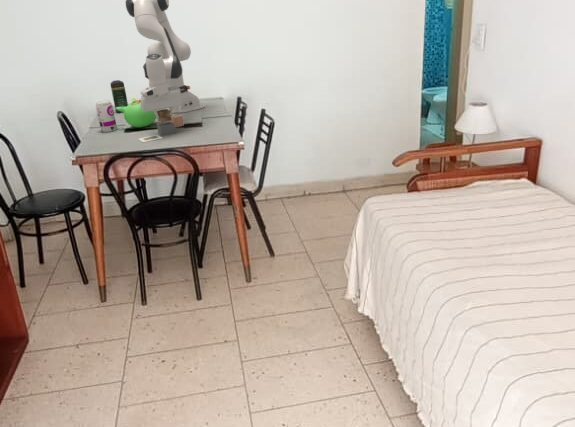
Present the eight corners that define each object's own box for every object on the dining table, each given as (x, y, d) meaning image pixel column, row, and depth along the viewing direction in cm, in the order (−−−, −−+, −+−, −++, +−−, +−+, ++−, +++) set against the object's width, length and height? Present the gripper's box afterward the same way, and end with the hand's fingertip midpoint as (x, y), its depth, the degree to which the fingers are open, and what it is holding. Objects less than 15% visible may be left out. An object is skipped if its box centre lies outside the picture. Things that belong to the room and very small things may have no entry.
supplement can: (120, 128, 279) (114, 100, 273) (111, 132, 272) (104, 104, 266) (107, 128, 282) (101, 100, 275) (98, 132, 275) (91, 104, 268)
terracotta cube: (180, 124, 278) (179, 114, 276) (184, 125, 274) (182, 116, 272) (171, 125, 276) (170, 116, 274) (175, 127, 272) (173, 118, 270)
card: (157, 135, 259) (157, 134, 259) (162, 138, 253) (162, 137, 253) (137, 139, 255) (137, 138, 255) (142, 142, 249) (142, 141, 248)
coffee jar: (129, 111, 316) (123, 80, 309) (116, 113, 314) (109, 82, 307) (128, 109, 325) (122, 78, 317) (115, 110, 323) (109, 80, 315)
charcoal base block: (171, 131, 266) (169, 121, 264) (176, 133, 260) (174, 123, 258) (158, 133, 263) (156, 124, 261) (162, 136, 257) (160, 126, 255)
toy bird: (145, 131, 269) (140, 102, 263) (118, 130, 275) (112, 102, 269) (164, 122, 284) (160, 95, 278) (138, 121, 290) (133, 95, 284)
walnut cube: (168, 118, 262) (166, 109, 260) (171, 120, 258) (169, 110, 256) (158, 120, 260) (156, 110, 258) (161, 122, 256) (160, 112, 254)
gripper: (177, 85, 260) (181, 112, 266) (137, 91, 251) (142, 120, 256) (181, 86, 255) (186, 114, 261) (141, 93, 246) (146, 122, 251)
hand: (164, 117), depth 258 cm, fingers closed on walnut cube, 5 cm apart
